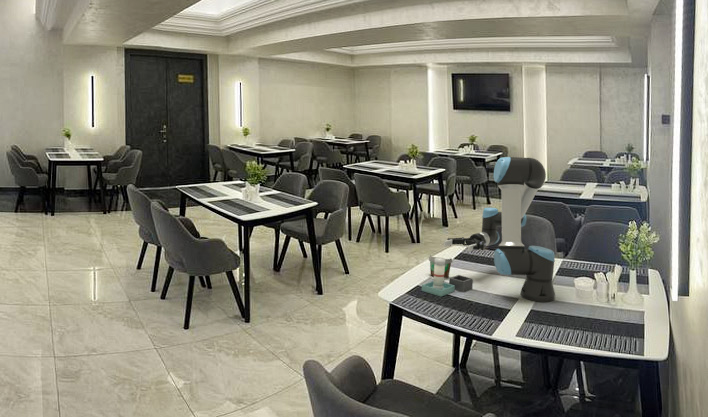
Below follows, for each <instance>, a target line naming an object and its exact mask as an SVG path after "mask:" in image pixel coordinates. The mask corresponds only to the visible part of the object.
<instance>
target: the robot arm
mask: <svg viewBox="0 0 708 417" xmlns="http://www.w3.org/2000/svg"><path fill="white" fill-rule="evenodd" d="M546 172H547V171H546V169H545V167H544V165H543V163H542V162H540V161H539V160H538V159H536V158H533V157H517V156H516V157H514V156H505V157H500V158H499V159H498V160H497V161H496V162H495V166H494V169H493V181H494V182H495V183H496V184H497V187H498V188H499V189H500V190H501V211H499V210H498V208H496V207H485V208H483V209H482V211H483V212H482V217H481V218H482V222H481V232H477V233H473V234H471V235H470V236H469V237H466V238H465V237H464V236H462V237H450V238H449V237H448V238H447V240H444V241H443V248H446V247H451V246H453V245H463V246H468V247H467V252H473V251H476V250H477V251H478V250H480V251H484V249H485V248H486V247H489V246H493V245H495V244H497V243H498V242H499V241H500V233H499V232H498V231H497V229H498V227H501V242H500V243H499V244H498V248H497V249H495V250H494V254H493V262H494V267H495V269H496V271H497V273H499V274H500V275H501V276H502V275H503V276H504V275H505V276H526V277H525V280H524V283H523V285H522V287H521V288H520V296H521V297H522V298H524V299H526V300H529V301H532V302H533V301H534V302H542V303H544V302H545V303H547V302H553V301H555V299H556V292H555V287H554V284H553V280H554V279H553V276H554V268H555V262H556V260H555V256H556V255H555V252H554V250H552V249H550V248H547V247H544V246H540V245H538V246H537V245H529V246H528V249H525V247H526V246H525V244H523V242H522V228H523V227H525V226H526V224H527V221H528V220H527V214H526V213H527V211H528V210H529V207H530V205H531V204H532V201H533V200H534V198H535V196H536V194H537V192H538V191H539V189H541V188H542V187H543V186H544V183H545V181H546V179H547V178H546V177H547V173H546Z"/></svg>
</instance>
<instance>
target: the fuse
mask: <svg viewBox="0 0 708 417" xmlns="http://www.w3.org/2000/svg"><path fill="white" fill-rule="evenodd" d="M445 259H446V258H444V257H440V258H435V260H434V277H433V280H432V281H433V288H435V289H439V290H443V289H444V283H445V278H444V271H445Z"/></svg>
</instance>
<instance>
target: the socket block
mask: <svg viewBox="0 0 708 417" xmlns="http://www.w3.org/2000/svg"><path fill="white" fill-rule="evenodd" d="M448 278H449V280H448V284H451V285H454V286H455V290H454V291H458V292H461V293H466V292H467V291H469V290H472V289H473V283H474V282H473V281H474V278H472V277H469V276H465V275H461V274H458V275H455V276H451V277H448Z"/></svg>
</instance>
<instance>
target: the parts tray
mask: <svg viewBox="0 0 708 417" xmlns="http://www.w3.org/2000/svg"><path fill="white" fill-rule="evenodd" d="M433 281H434V280H432V281H430V282H428V283H424V284H421V292H425V293H429V294H431V295H434V296H436V297H437V296H438V297H443V296H446V295H448V294H452V293H454V292H455V291H456V290H455V286H454V285H451V284H449V283H447V282H444V289H443V290H439V289H435V288H433Z"/></svg>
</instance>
